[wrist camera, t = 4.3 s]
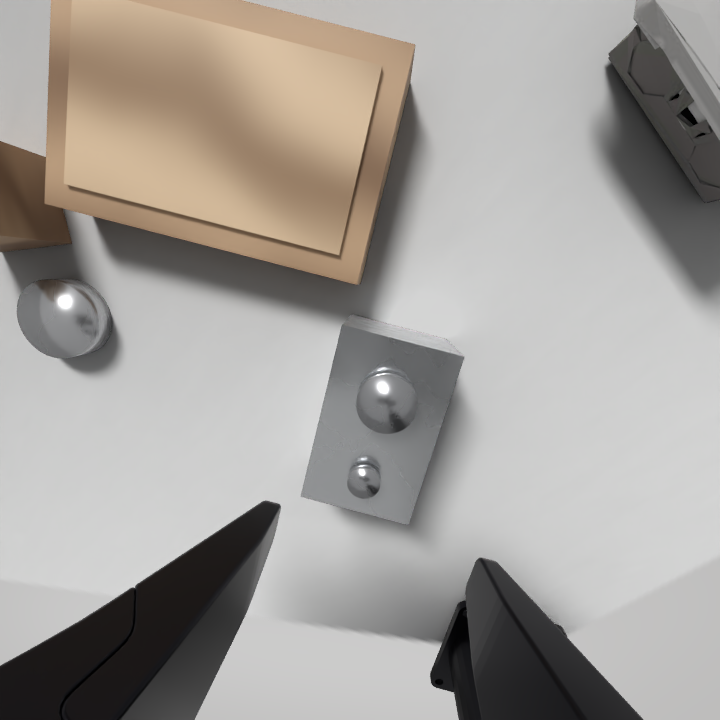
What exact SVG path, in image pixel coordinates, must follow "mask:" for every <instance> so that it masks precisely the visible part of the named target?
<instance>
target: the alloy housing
mask: <svg viewBox="0 0 720 720" xmlns="http://www.w3.org/2000/svg"><path fill="white" fill-rule="evenodd" d="M463 360H464V356H463V355H462V354H461V353H460V352H459V351H458V350H457V349H456V348H455V347H454V346H453V345H452V344H451V343H450V342H449V341H448V340H447V339H445V338H441V337H437V336H433V335H429V334H426V333H422V332H418V331H414V330H410V329H406V328H403V327H399V326H395V325H391V324H387V323H383V322H379V321H376V320H372V319H368V318H364V317H360V316H356V315H353V314H351V315H350V317H349V318H348V319H347V320H346V321H345V322H344V323H343V324H342V327H341V331H340V335H339V339H338V344H337V348H336V352H335V356H334V360H333V364H332V369H331V373H330V377H329V381H328V385H327V389H326V393H325V398H324V402H323V406H322V410H321V414H320V418H319V423H318V427H317V431H316V435H315V439H314V443H313V447H312V452H311V456H310V460H309V464H308V468H307V472H306V477H305V481H304V485H303V489H302V493H301V497H304V498H308V499H312V500H315V501H319V502H323V503H327V504H330V505H334V506H338V507H342V508H346V509H349V510H353V511H357V512H361V513H364V514H368V515H372V516H376V517H380V518H383V519H387V520H391V521H395V522H398V523H402V524H406V525H409V522H410V519H411V516H412V513H413V510H414V507H415V504H416V501H417V498H418V495H419V492H420V489H421V486H422V483H423V480H424V477H425V474H426V471H427V468H428V465H429V462H430V459H431V456H432V453H433V450H434V447H435V444H436V441H437V438H438V435H439V432H440V429H441V426H442V423H443V420H444V417H445V414H446V411H447V408H448V405H449V402H450V399H451V396H452V393H453V390H454V387H455V384H456V381H457V378H458V375H459V372H460V369H461V366H462V363H463Z"/></svg>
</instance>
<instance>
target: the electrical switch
mask: <svg viewBox="0 0 720 720" xmlns="http://www.w3.org/2000/svg"><path fill="white" fill-rule="evenodd" d="M634 20H635V21H636V23H637V25H636V26H635V28H634V29H633V31H632V32H631V33H630V34H628V35H627V36H626V37H625V38H624V39H623V40H622V41H621V42H620V43H619V44H618V45H617V46H616V47H615V48H614V49H613V50H612V51H611V52H610V53H609V56H610V57H609V60H610V61H611V63H612V64H613V66H614V67H615V69H616V70H617V72H618V73H619V75H620V76H621V78H622V79H623V81H624V82H625V84H626V85H627V87H628V88H629V90H630V91H631V93H632V94H633V96H634V97H635V99H636V100H637V102H638V103H639V105H640V106H641V108H642V109H643V111H644V112H645V114H646V115H647V117H648V118H649V120H650V121H651V123H652V124H653V126H654V128H655V129H656V131H657V132H658V134H659V135H660V137H661V138H662V140H663V141H664V143H665V144H666V146H667V147H668V149H669V150H670V152H671V153H672V155H673V156H674V158H675V159H676V161H677V162H678V164H679V165H680V167H681V168H682V170H683V171H684V173H685V174H686V176H687V177H688V179H689V180H690V182H691V183H692V185H693V186H694V188H695V189H696V191H697V192H698V194H699V195H700V197H701V198H702V200H703V201H704V203H705V202H707V203H708V202H712V201H717V200H720V0H636V6H635V12H634ZM677 93H679V95H680V96H679V97H678V98H677V99H674V100H671V99H672V98H673V97H674V96H675V95H676V94H677ZM670 100H671V101H670ZM686 107H688V108H689V110H690V111H691V113H692V114H693V116H694V117H695V119H696V120H697V122H698V124H696V125H693V124H692V123H691V122H689V121H688V120H687V119H686V118H685V117H684V116H683V115H682V114H681V113H680V112H681V111H683V110H684V109H685V108H686ZM702 132H703V133H705V134H706V135H703V136H700V137H696V136H697V135H699V134H700V133H702Z"/></svg>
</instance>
